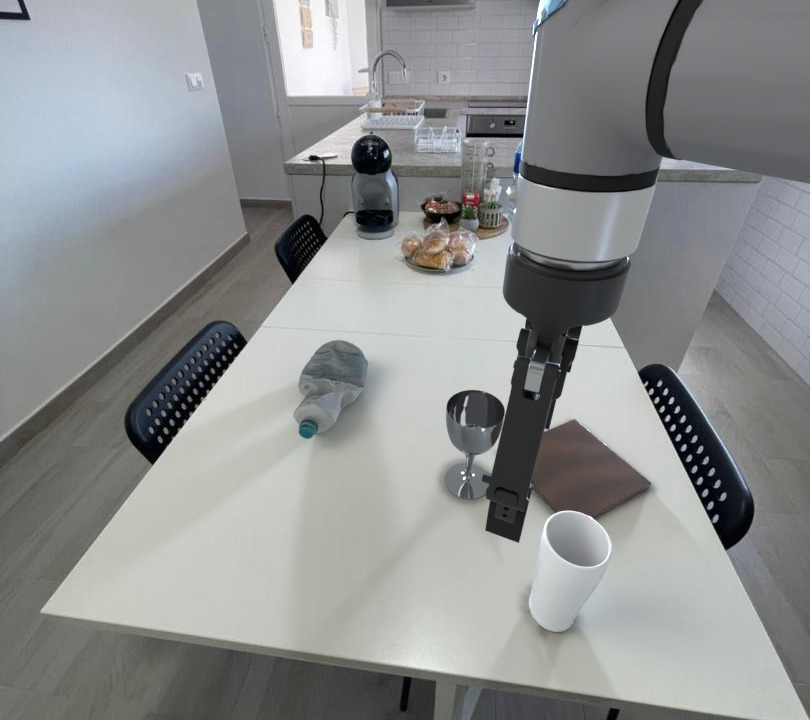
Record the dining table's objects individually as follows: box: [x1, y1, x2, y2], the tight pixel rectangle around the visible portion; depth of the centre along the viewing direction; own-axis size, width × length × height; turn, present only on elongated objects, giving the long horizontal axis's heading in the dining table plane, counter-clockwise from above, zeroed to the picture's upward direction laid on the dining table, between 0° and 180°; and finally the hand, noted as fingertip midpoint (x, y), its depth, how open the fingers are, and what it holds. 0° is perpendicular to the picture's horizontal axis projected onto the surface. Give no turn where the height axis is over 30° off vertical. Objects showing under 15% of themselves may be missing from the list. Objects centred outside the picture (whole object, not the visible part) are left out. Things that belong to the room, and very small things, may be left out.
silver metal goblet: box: [444, 389, 506, 500], centre depth 65 cm, size 8×8×15 cm
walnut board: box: [532, 418, 652, 519], centre depth 71 cm, size 16×16×1 cm
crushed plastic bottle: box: [292, 339, 369, 439], centre depth 83 cm, size 13×7×25 cm
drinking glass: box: [528, 511, 613, 633], centre depth 49 cm, size 7×7×15 cm
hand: (521, 471), depth 41 cm, fingers open, 13 cm apart
